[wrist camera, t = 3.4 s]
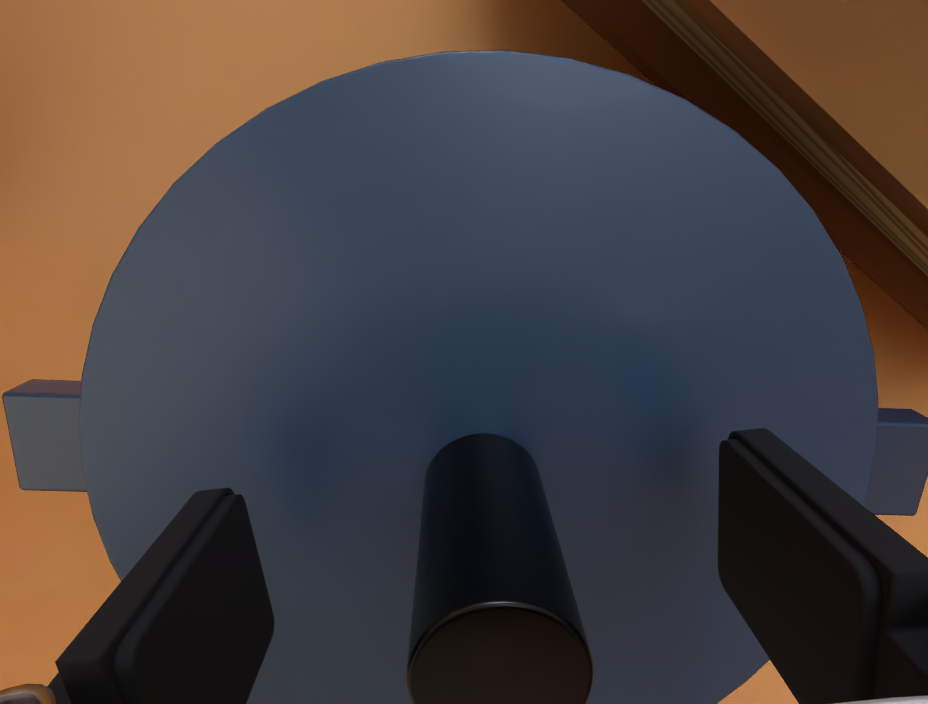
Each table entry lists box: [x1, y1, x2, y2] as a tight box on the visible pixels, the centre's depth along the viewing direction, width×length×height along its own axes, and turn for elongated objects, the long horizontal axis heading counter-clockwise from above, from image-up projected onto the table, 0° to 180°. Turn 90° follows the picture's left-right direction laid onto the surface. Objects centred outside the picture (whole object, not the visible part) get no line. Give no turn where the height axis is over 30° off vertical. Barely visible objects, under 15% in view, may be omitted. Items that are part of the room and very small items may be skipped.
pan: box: [2, 379, 928, 516], centre depth 16 cm, size 16×21×6 cm
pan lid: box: [79, 50, 879, 704], centre depth 10 cm, size 16×16×6 cm
